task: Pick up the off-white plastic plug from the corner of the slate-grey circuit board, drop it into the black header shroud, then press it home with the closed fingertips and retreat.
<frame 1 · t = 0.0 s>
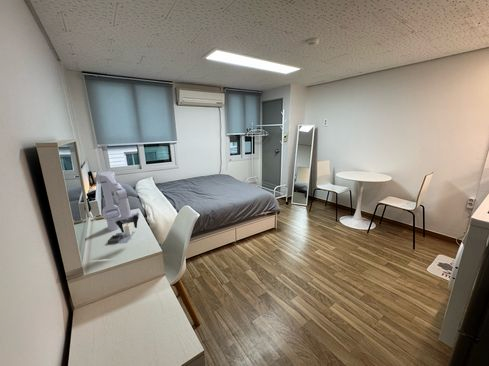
hand: (129, 229, 131), 11 cm above the table, tool pointing down, fingers open, 7 cm apart
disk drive: (128, 221, 168), on the table
plug: (128, 234, 145), point 1 cm above the table, touching board
board: (121, 239, 140), on the table
header: (115, 240, 137), resting on board
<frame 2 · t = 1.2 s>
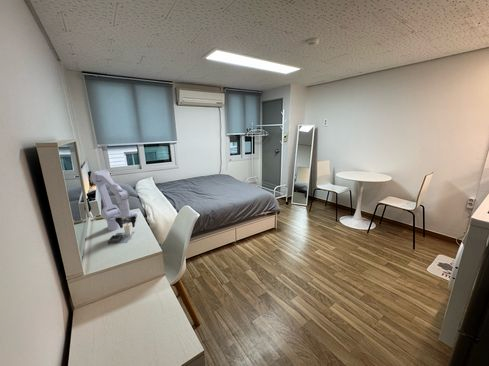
hand: (127, 227, 143), 6 cm above the table, tool pointing down, fingers open, 7 cm apart
nothing on the table moved.
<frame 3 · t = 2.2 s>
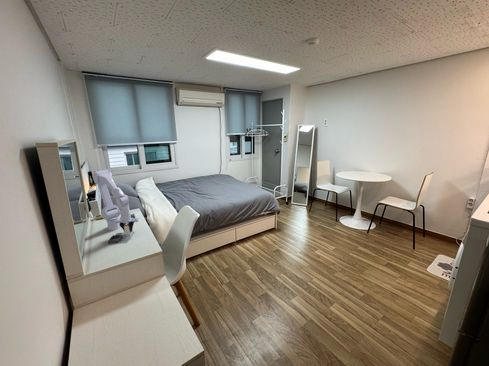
hand: (128, 231, 144), 3 cm above the table, tool pointing down, fingers closed on plug, 3 cm apart
plug: (128, 234, 145), point 1 cm above the table, touching board, gripper
everything else where it was.
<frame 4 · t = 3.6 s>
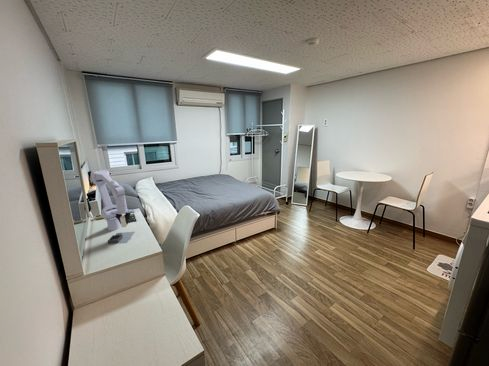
hand: (124, 223, 141), 10 cm above the table, tool pointing down, fingers closed on plug, 3 cm apart
plug: (125, 225, 142), point 8 cm above the table, touching gripper
everything else where it was.
when the fingers open (5 cm above the table, at t = 5.3 s): plug drops 3 cm, resting on board.
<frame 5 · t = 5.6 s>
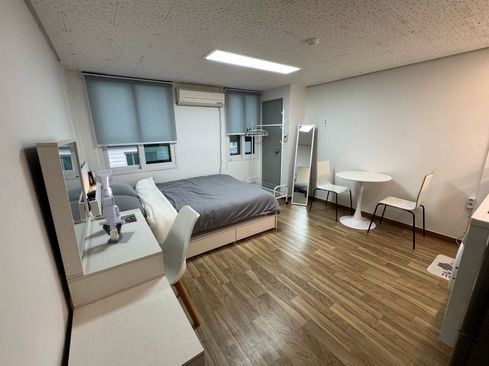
hand: (114, 234, 136), 5 cm above the table, tool pointing down, fingers open, 5 cm apart
plug: (115, 240, 137), point 1 cm above the table, touching board
everything else where it was.
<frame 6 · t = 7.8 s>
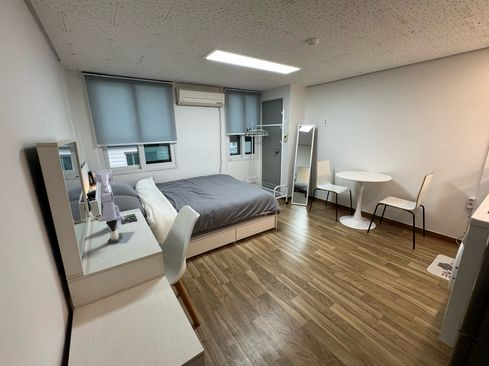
hand: (113, 230, 135), 8 cm above the table, tool pointing down, fingers closed, pressing on plug
plug: (115, 240, 137), point 1 cm above the table, touching board, gripper
everything else where it was.
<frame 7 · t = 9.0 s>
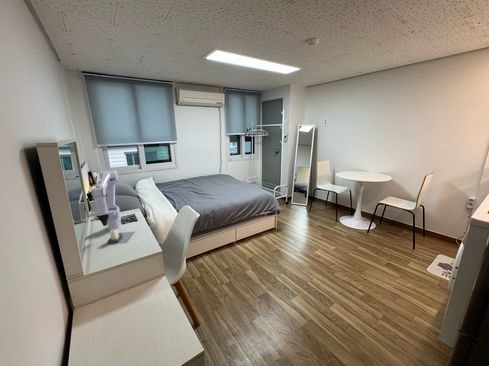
hand: (105, 225, 137), 10 cm above the table, tool pointing down, fingers closed
plug: (116, 240, 137), point 1 cm above the table, touching board
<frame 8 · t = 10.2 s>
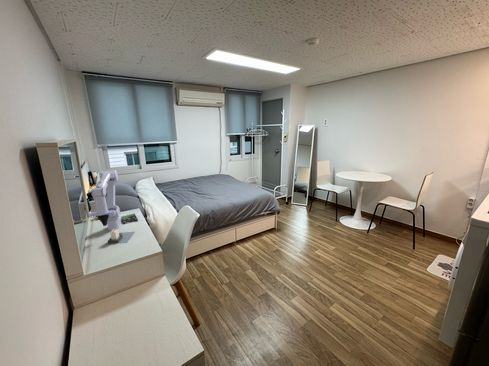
hand: (105, 225, 137), 10 cm above the table, tool pointing down, fingers closed
at the end: plug 0.3 cm off-centre on the header, point 0.0 cm above the header's base; plug tilted 0°; the gripper is holding nothing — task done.
